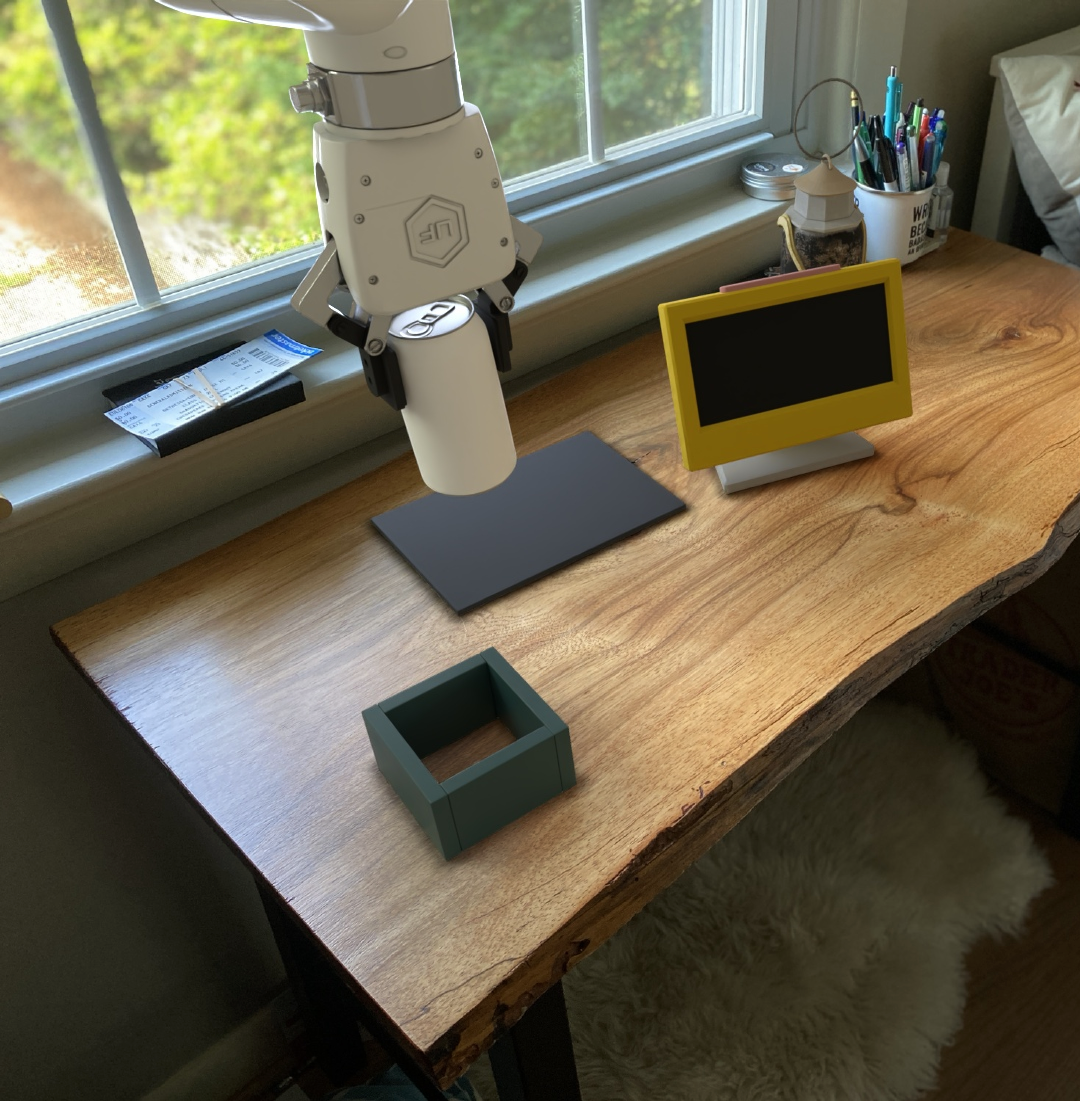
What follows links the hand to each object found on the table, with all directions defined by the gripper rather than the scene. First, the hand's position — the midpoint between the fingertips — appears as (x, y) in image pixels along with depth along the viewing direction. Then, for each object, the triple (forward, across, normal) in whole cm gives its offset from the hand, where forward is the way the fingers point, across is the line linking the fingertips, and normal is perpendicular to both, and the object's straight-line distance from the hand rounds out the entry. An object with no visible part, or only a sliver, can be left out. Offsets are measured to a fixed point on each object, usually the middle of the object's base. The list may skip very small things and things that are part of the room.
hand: (444, 380), depth 70 cm
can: (+7, +1, 0) cm, 8 cm away
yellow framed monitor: (+16, +28, -2) cm, 32 cm away
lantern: (+16, +42, +10) cm, 47 cm away
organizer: (+16, -10, -16) cm, 25 cm away
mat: (+16, +6, +4) cm, 18 cm away
